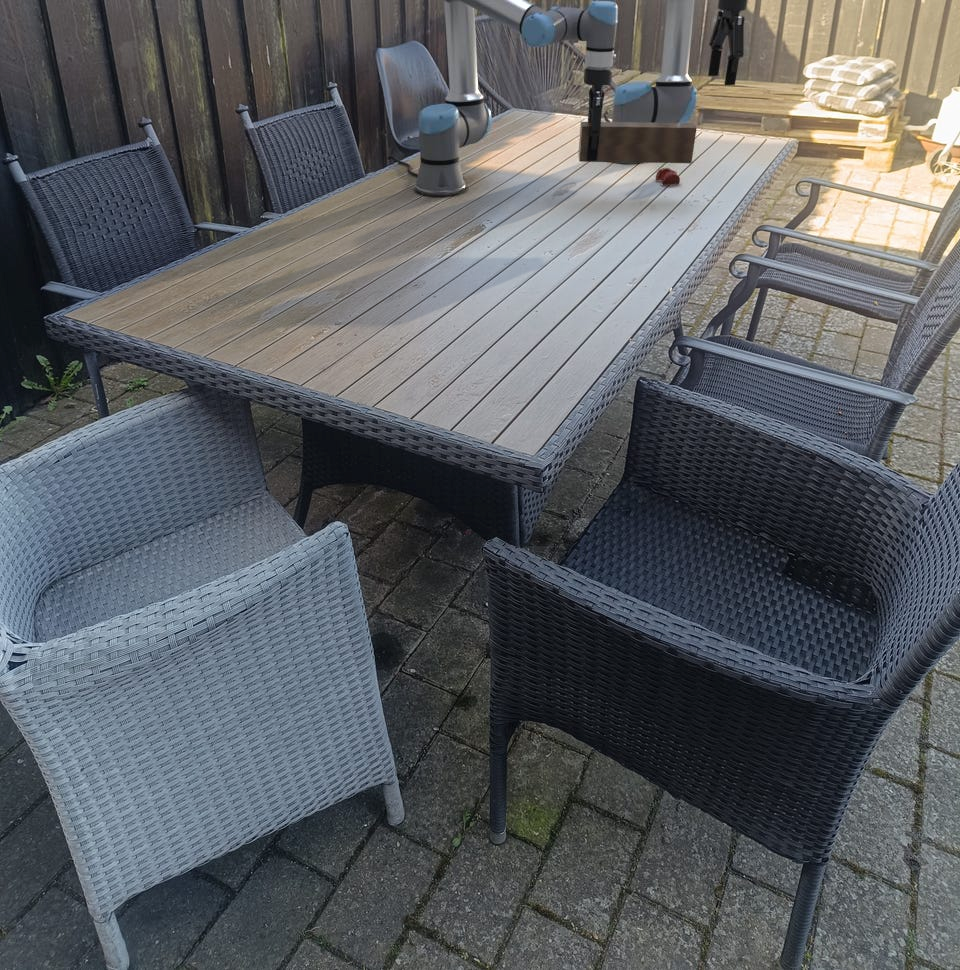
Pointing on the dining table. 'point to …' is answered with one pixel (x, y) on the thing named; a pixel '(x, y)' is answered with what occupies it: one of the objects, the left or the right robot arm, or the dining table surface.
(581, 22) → the left robot arm
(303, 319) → the dining table surface
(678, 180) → the dark red rounded lump
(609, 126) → the bar
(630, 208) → the dining table surface
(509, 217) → the dining table surface
